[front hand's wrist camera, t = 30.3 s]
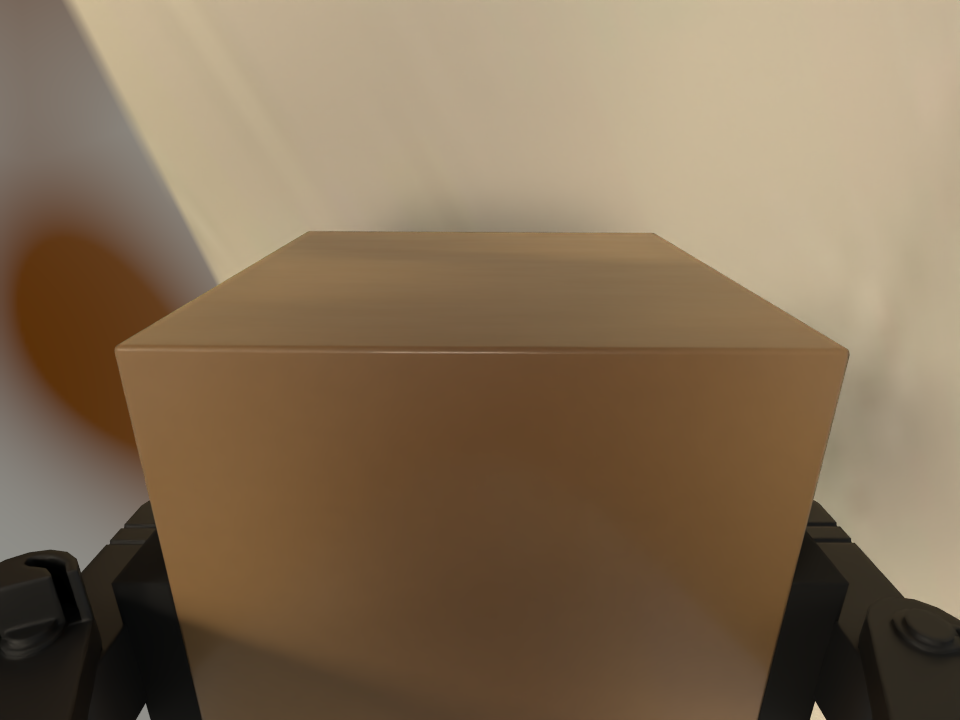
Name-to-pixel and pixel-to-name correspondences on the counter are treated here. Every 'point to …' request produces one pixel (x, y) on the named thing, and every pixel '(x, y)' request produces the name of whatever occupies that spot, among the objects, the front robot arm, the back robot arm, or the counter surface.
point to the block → (480, 478)
